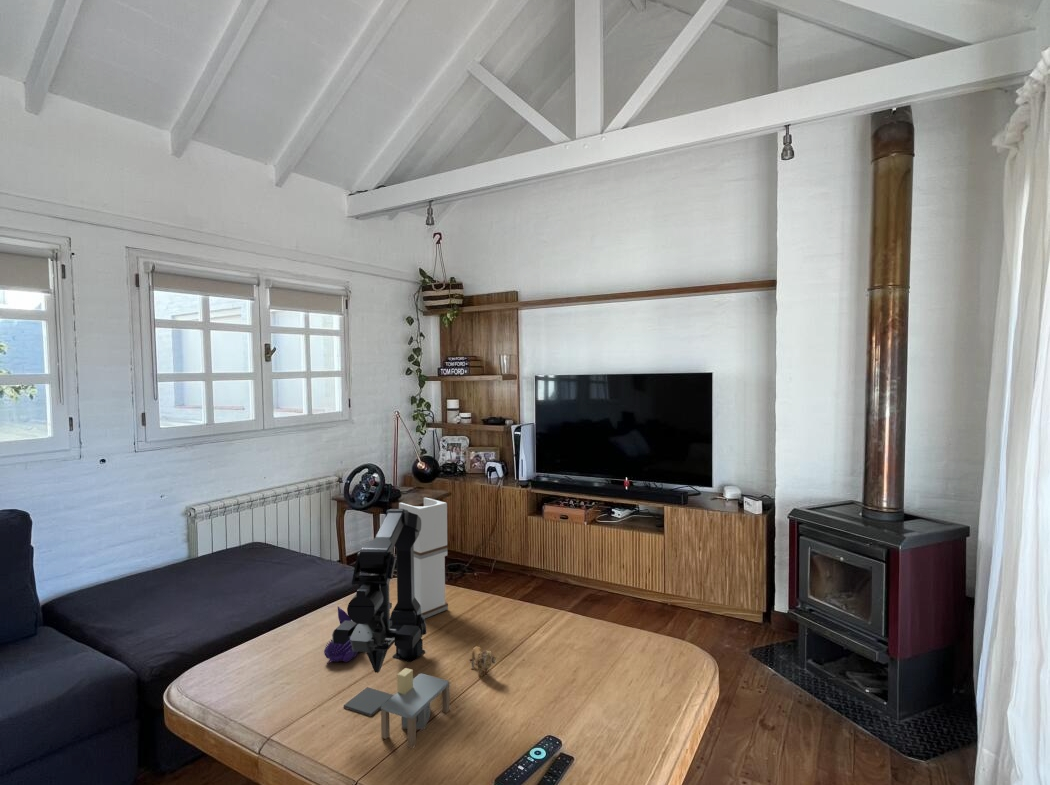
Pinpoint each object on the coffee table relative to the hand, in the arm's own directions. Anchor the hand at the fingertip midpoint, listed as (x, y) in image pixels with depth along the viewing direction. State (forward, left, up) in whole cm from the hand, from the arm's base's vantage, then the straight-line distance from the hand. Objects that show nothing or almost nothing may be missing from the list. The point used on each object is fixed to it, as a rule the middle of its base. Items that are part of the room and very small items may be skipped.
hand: (377, 671), depth 123 cm
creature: (-26, +19, -11) cm, 34 cm away
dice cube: (+9, +2, -11) cm, 14 cm away
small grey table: (+9, +2, -10) cm, 14 cm away
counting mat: (-6, +4, -10) cm, 12 cm away
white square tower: (-24, +51, -11) cm, 57 cm away
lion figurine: (+12, +26, -11) cm, 30 cm away
